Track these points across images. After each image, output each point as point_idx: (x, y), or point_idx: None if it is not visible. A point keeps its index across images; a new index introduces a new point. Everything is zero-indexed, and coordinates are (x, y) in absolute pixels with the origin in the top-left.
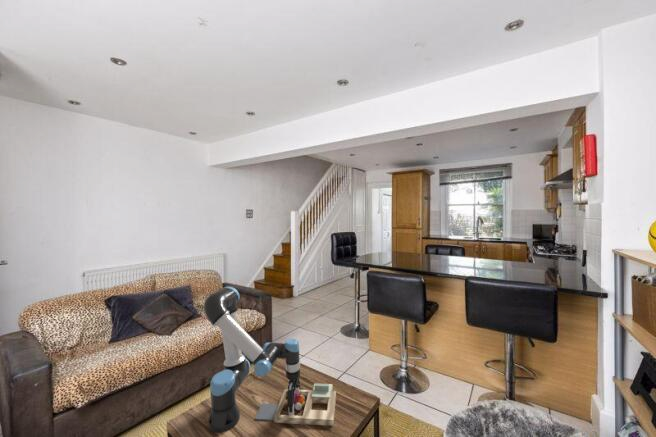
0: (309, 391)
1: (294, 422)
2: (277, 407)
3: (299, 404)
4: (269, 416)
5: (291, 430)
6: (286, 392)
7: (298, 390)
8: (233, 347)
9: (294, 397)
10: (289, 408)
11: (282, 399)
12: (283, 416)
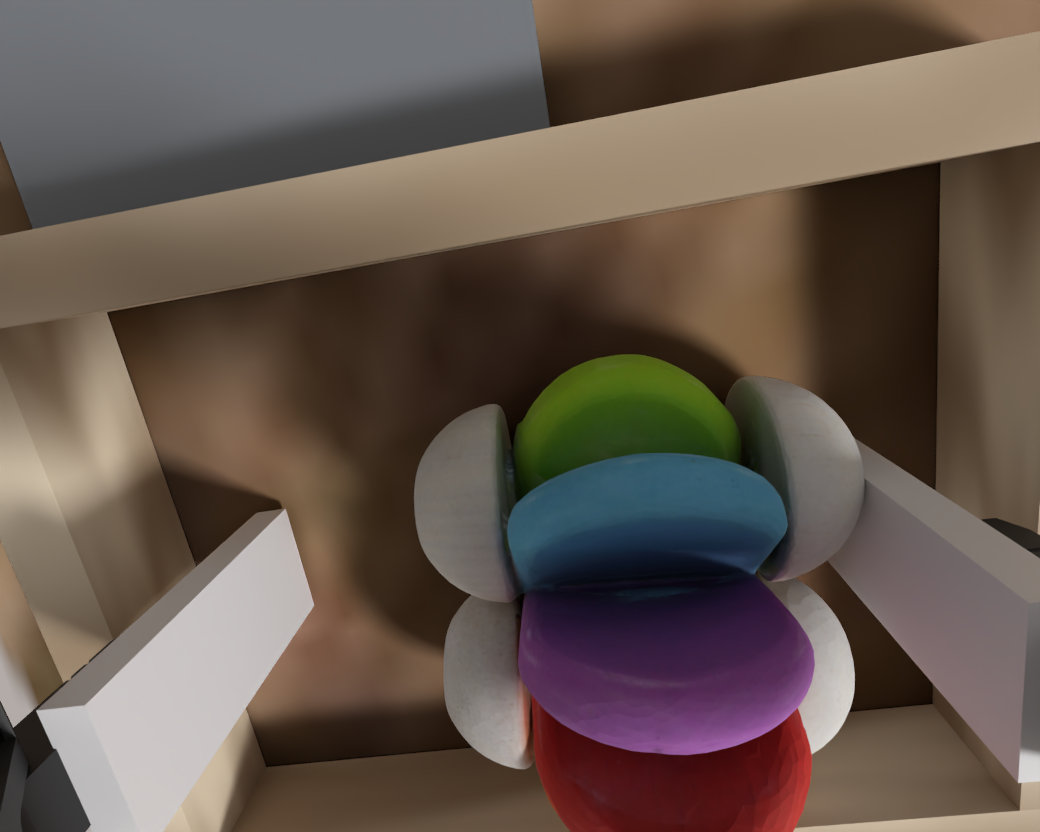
0: (1035, 824)
1: None
2: (218, 195)
3: (484, 752)
4: (64, 58)
5: (25, 654)
6: (1016, 147)
7: (959, 708)
8: None
9: (546, 709)
10: (36, 720)
11: (591, 195)
12: (8, 510)
